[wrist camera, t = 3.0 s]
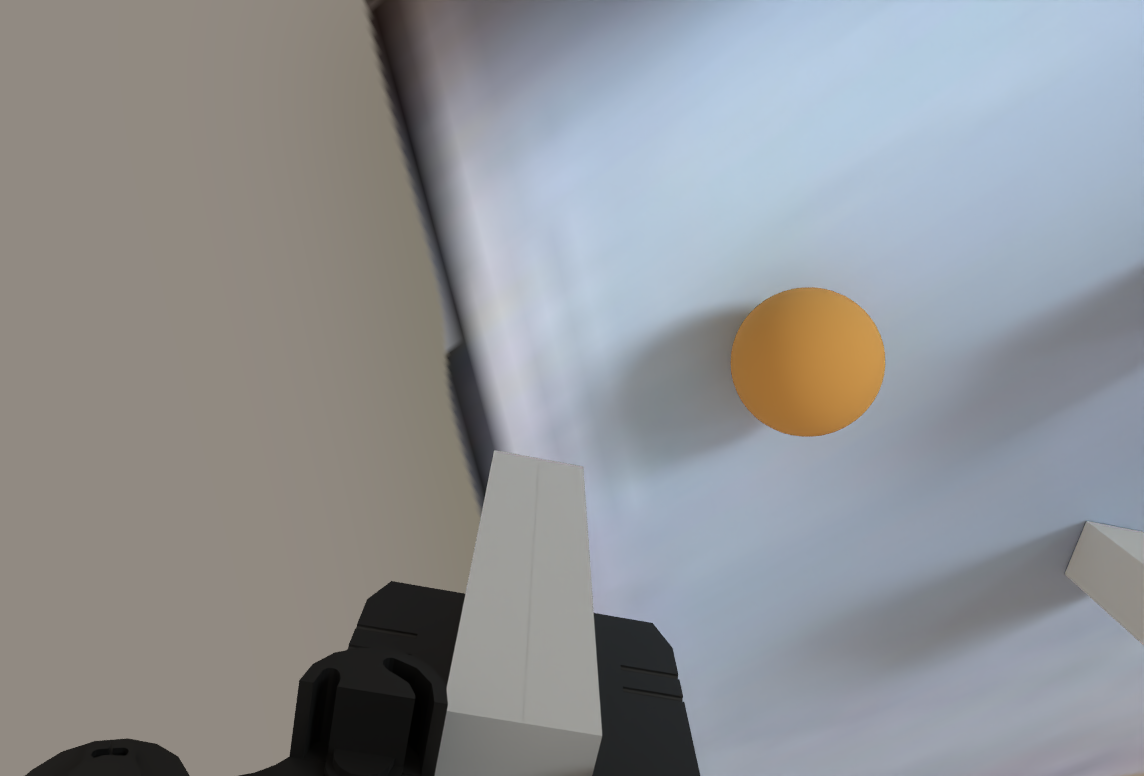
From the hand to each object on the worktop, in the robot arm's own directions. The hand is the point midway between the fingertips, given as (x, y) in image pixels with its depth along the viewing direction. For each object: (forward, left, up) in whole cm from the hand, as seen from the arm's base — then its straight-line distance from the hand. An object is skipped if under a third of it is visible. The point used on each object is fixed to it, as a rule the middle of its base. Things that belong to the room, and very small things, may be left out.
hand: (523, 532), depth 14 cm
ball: (-10, 0, -17) cm, 20 cm away
